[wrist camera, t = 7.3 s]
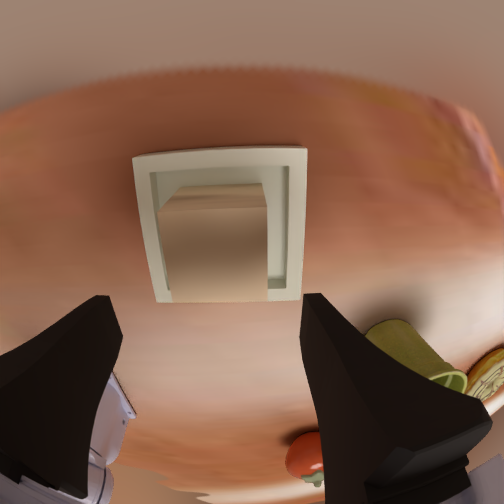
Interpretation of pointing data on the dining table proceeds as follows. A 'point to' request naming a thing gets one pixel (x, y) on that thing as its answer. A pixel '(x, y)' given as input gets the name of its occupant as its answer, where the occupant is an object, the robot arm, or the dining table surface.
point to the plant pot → (415, 353)
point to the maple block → (216, 243)
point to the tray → (230, 172)
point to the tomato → (306, 458)
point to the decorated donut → (486, 376)
